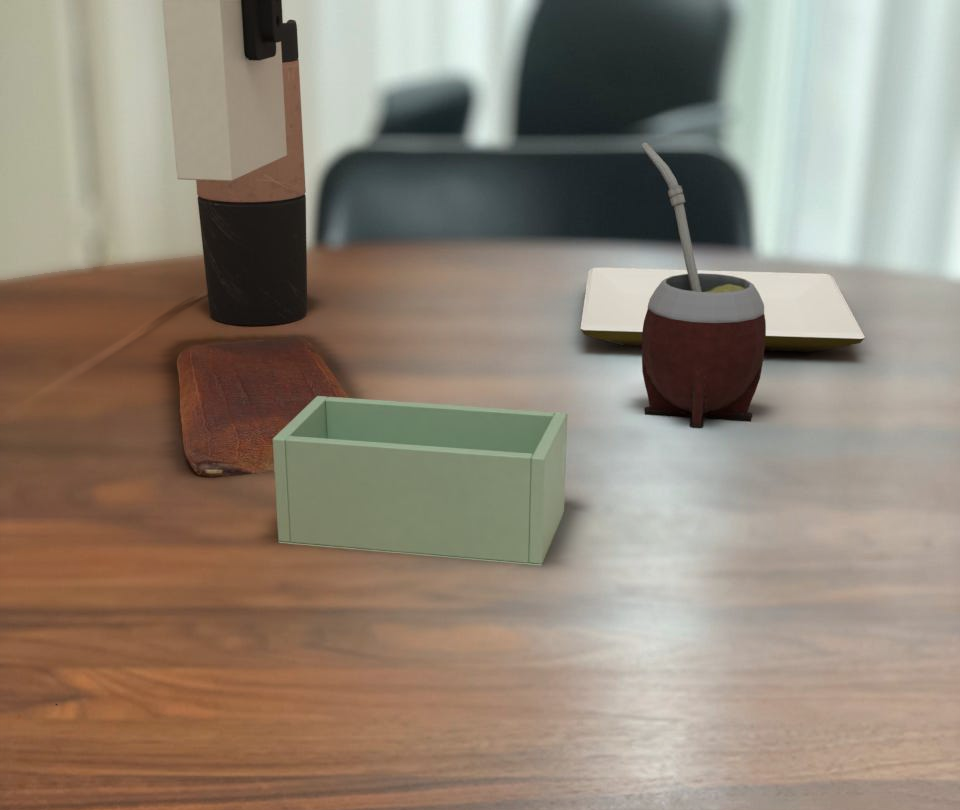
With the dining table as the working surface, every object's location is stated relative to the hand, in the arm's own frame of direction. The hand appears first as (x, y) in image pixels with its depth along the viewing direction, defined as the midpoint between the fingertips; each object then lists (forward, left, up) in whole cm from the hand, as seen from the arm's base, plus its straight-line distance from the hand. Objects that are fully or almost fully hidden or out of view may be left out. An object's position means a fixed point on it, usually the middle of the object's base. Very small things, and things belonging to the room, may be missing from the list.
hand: (226, 53), depth 78 cm
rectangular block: (0, 0, -6) cm, 6 cm away
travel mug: (-8, +25, -20) cm, 33 cm away
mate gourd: (+25, +7, -20) cm, 33 cm away
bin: (+14, -15, -20) cm, 28 cm away
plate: (+25, +29, -20) cm, 43 cm away
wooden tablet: (0, +3, -20) cm, 20 cm away
